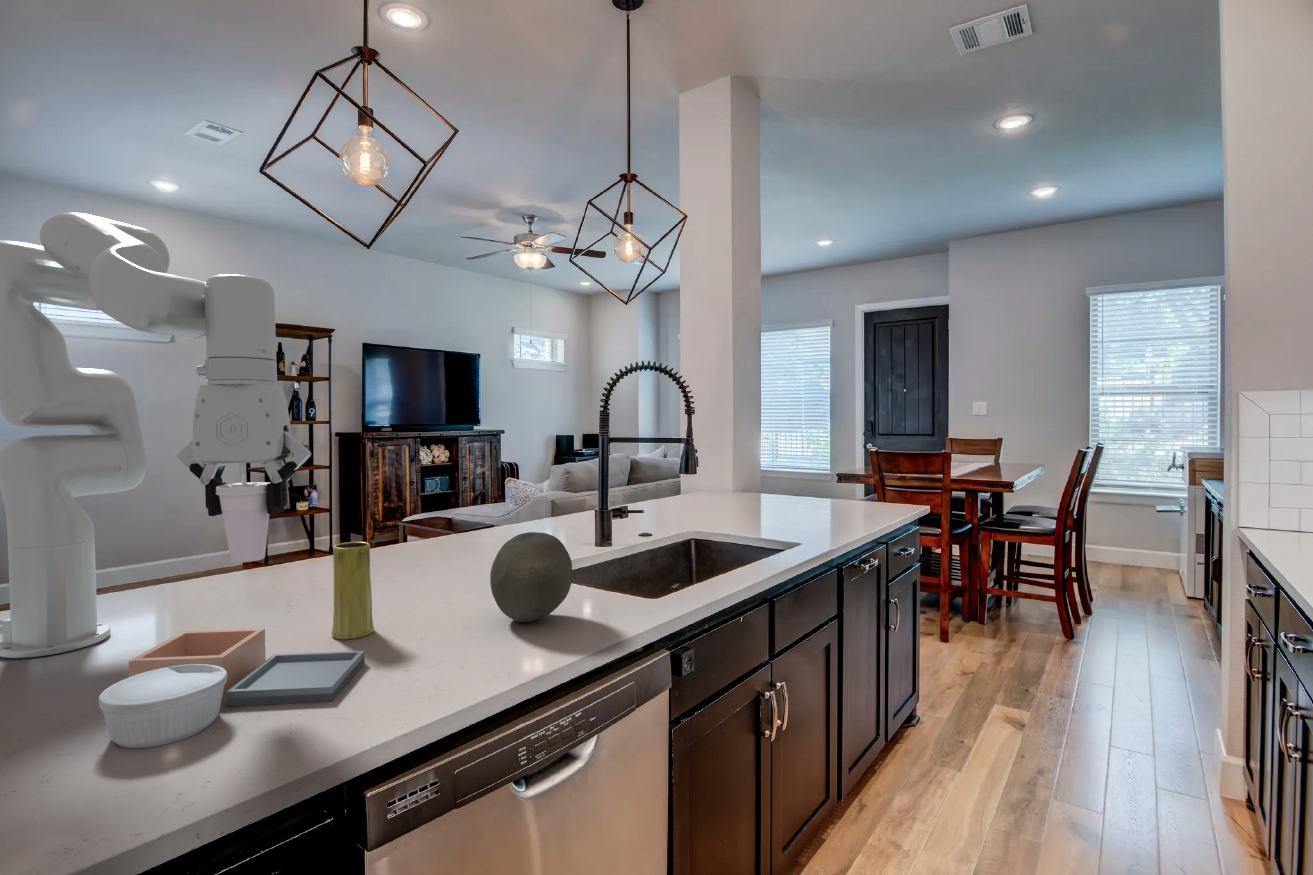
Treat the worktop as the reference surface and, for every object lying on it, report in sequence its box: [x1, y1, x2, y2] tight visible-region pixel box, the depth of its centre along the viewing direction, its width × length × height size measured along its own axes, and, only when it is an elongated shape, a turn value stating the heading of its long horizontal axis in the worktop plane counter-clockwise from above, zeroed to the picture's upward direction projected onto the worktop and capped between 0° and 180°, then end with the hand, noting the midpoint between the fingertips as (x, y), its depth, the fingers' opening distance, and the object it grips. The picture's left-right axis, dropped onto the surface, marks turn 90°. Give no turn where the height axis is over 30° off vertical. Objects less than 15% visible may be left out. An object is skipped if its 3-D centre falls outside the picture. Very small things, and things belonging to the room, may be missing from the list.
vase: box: [331, 541, 375, 641], centre depth 102 cm, size 6×6×14 cm
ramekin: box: [98, 664, 227, 749], centre depth 71 cm, size 11×11×5 cm
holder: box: [128, 628, 267, 698], centre depth 83 cm, size 11×11×5 cm
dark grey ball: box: [489, 531, 573, 623], centre depth 108 cm, size 14×14×15 cm
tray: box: [225, 650, 366, 707], centre depth 83 cm, size 12×12×2 cm
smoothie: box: [216, 463, 270, 563], centre depth 82 cm, size 6×6×14 cm
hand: (247, 512), depth 82 cm, fingers closed on smoothie, 6 cm apart
